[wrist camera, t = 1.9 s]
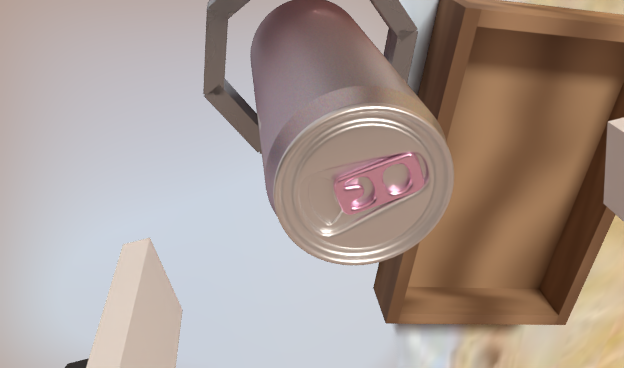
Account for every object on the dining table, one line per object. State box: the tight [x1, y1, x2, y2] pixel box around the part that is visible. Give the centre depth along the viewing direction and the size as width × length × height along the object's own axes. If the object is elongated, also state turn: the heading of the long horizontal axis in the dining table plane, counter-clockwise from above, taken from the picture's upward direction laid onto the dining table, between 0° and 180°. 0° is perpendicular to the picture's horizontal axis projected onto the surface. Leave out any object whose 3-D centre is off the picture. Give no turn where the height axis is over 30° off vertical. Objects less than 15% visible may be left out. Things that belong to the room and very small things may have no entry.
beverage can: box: [251, 0, 454, 265], centre depth 24 cm, size 6×6×15 cm
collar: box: [204, 0, 418, 154], centre depth 29 cm, size 10×10×2 cm
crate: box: [373, 0, 624, 325], centre depth 34 cm, size 13×20×4 cm, turn 173°
